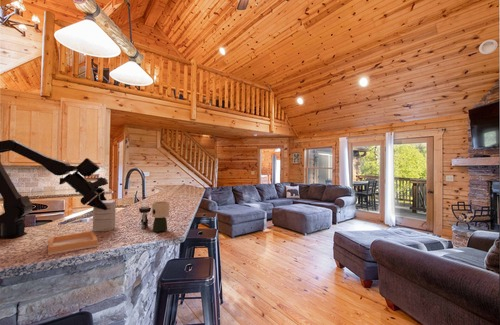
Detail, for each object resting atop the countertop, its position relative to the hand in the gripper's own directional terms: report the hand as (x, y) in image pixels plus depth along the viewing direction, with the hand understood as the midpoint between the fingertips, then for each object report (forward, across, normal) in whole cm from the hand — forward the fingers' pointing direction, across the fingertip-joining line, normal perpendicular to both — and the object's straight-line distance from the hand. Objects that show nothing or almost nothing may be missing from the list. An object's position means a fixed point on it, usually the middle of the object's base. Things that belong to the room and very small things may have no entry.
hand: (108, 207), depth 104 cm
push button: (+18, -3, -4) cm, 19 cm away
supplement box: (+6, 0, +8) cm, 10 cm away
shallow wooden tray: (+1, -20, +12) cm, 23 cm away
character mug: (+23, -12, -9) cm, 27 cm away
